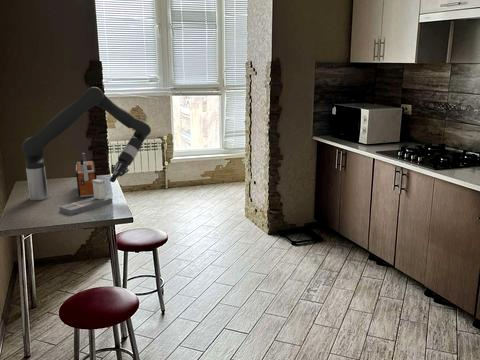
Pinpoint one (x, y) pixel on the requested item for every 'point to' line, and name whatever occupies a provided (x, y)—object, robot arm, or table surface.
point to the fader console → (84, 205)
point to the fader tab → (98, 189)
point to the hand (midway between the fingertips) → (111, 181)
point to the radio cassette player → (85, 177)
